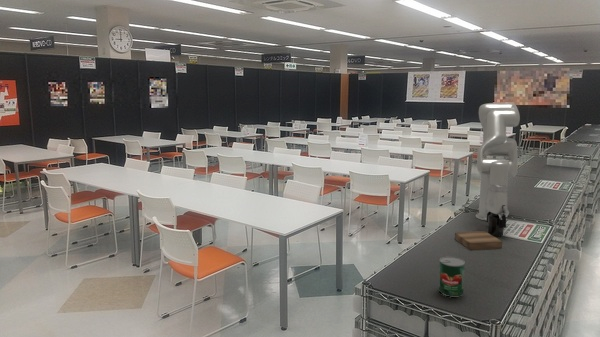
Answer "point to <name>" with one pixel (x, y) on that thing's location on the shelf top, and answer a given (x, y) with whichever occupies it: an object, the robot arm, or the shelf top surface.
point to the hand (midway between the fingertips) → (495, 224)
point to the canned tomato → (451, 276)
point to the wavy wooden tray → (478, 240)
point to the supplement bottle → (494, 225)
